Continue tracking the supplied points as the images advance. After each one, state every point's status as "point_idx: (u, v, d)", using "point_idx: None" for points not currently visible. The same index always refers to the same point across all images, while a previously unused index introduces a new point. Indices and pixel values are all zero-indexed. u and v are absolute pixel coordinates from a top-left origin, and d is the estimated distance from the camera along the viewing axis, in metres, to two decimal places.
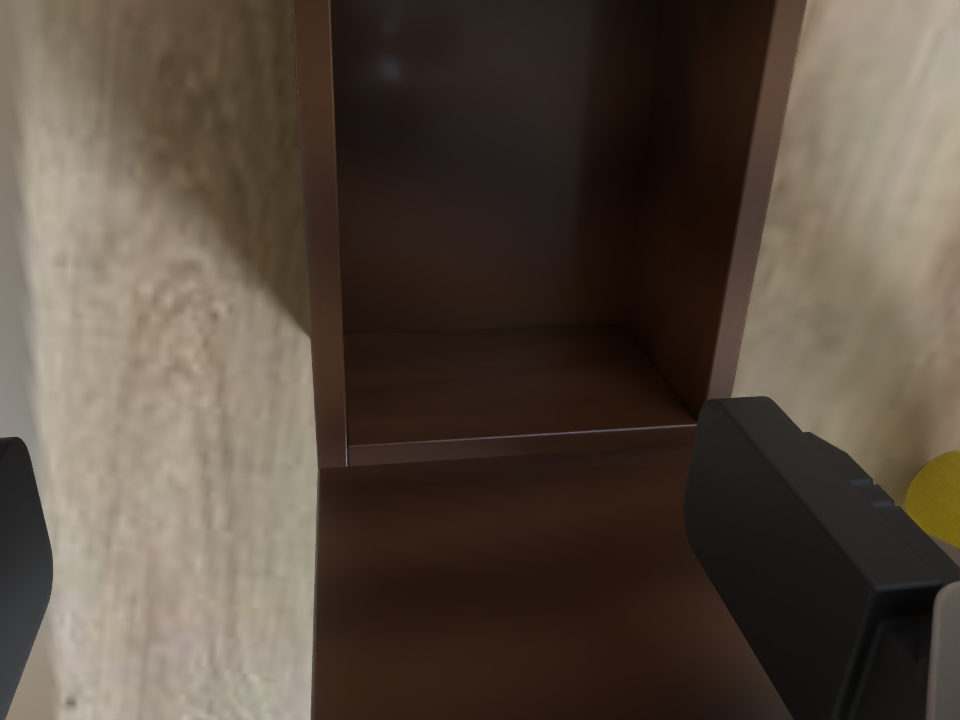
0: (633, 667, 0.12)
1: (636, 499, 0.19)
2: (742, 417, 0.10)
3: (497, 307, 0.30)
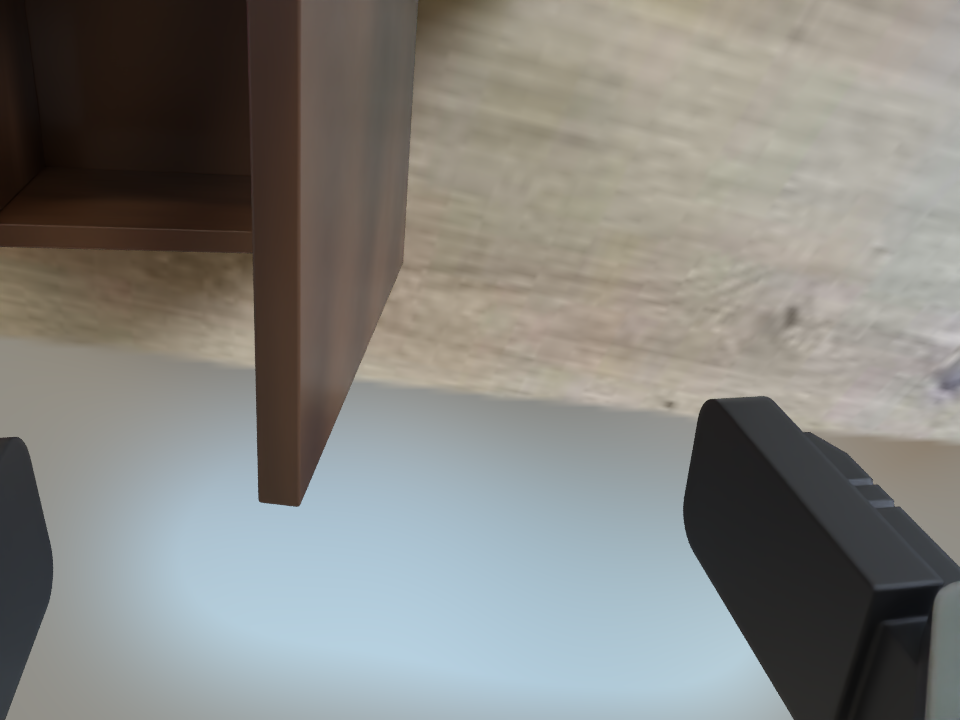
0: None
1: None
2: (743, 418, 0.10)
3: None
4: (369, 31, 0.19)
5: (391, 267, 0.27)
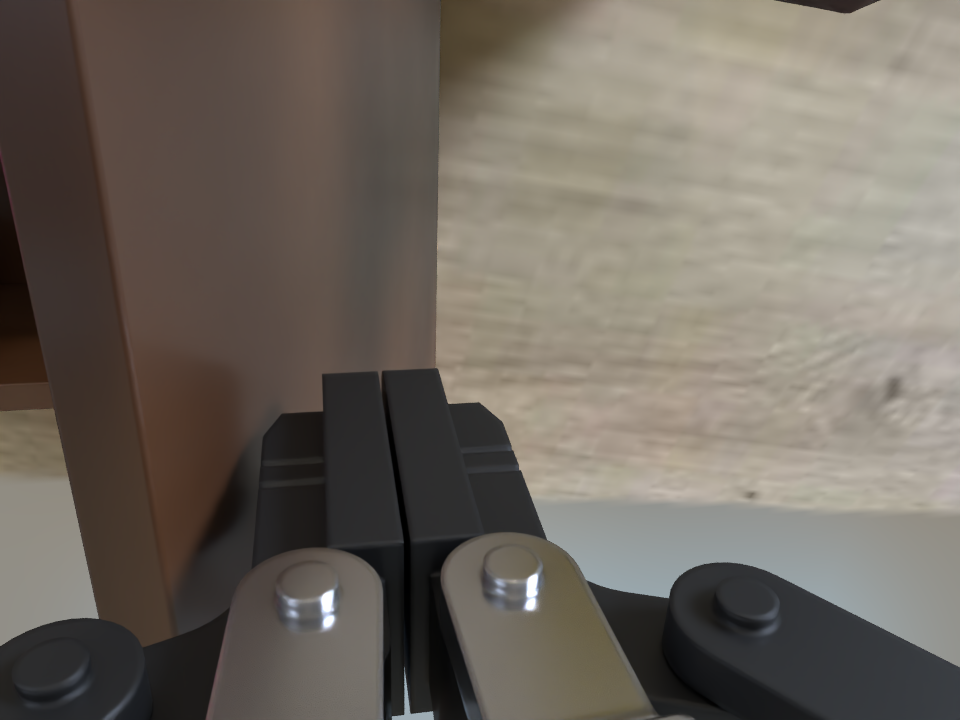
0: None
1: None
2: (397, 387, 0.10)
3: None
4: (336, 176, 0.13)
5: None
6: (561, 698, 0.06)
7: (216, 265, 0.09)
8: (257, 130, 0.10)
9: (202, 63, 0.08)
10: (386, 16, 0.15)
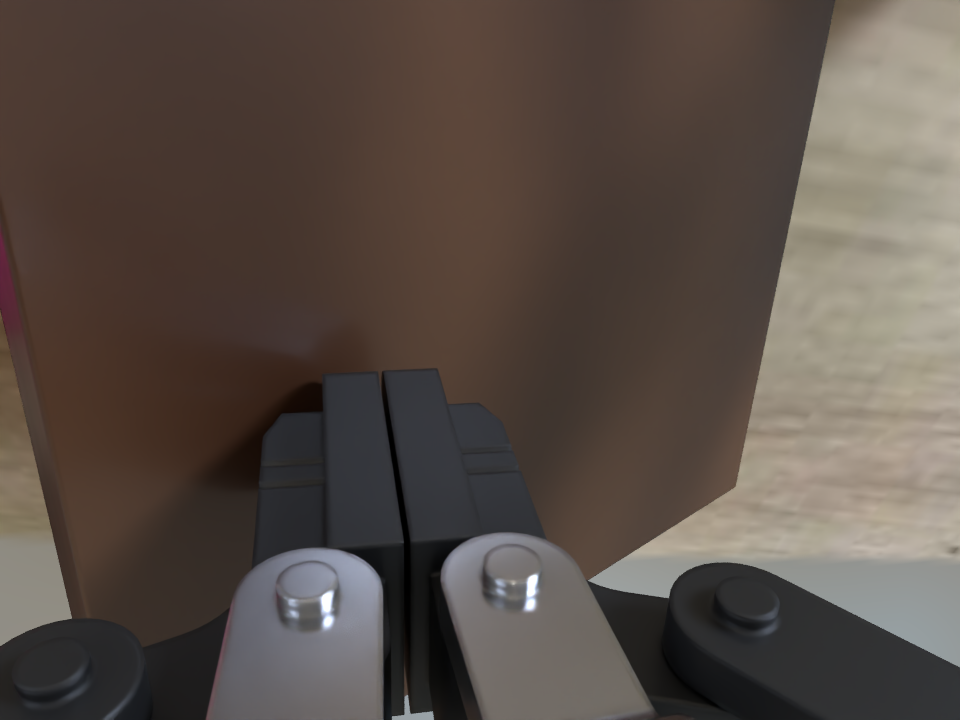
0: None
1: None
2: (397, 386, 0.10)
3: None
4: (491, 202, 0.12)
5: (665, 501, 0.19)
6: (562, 698, 0.06)
7: (198, 251, 0.09)
8: (305, 133, 0.10)
9: (191, 58, 0.09)
10: (658, 42, 0.13)
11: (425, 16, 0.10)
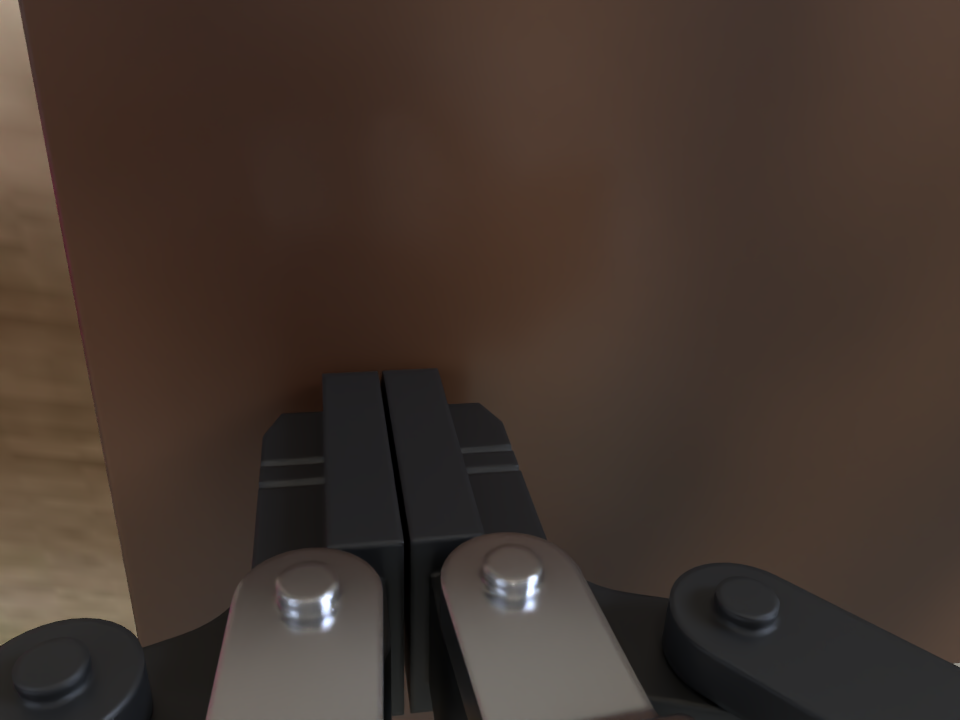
0: None
1: None
2: (397, 387, 0.10)
3: None
4: (581, 240, 0.11)
5: None
6: (562, 696, 0.06)
7: (230, 234, 0.10)
8: (349, 139, 0.10)
9: (228, 55, 0.09)
10: (856, 84, 0.11)
11: (500, 32, 0.10)
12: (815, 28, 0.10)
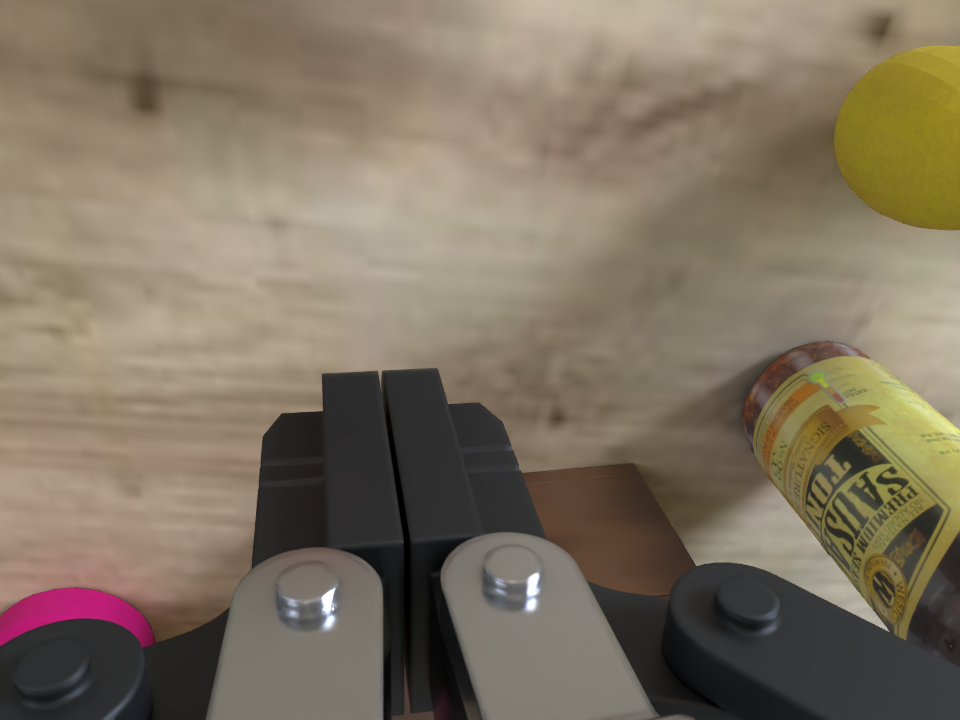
0: None
1: None
2: (397, 386, 0.10)
3: None
4: None
5: None
6: (562, 698, 0.06)
7: None
8: None
9: None
10: None
11: None
12: None
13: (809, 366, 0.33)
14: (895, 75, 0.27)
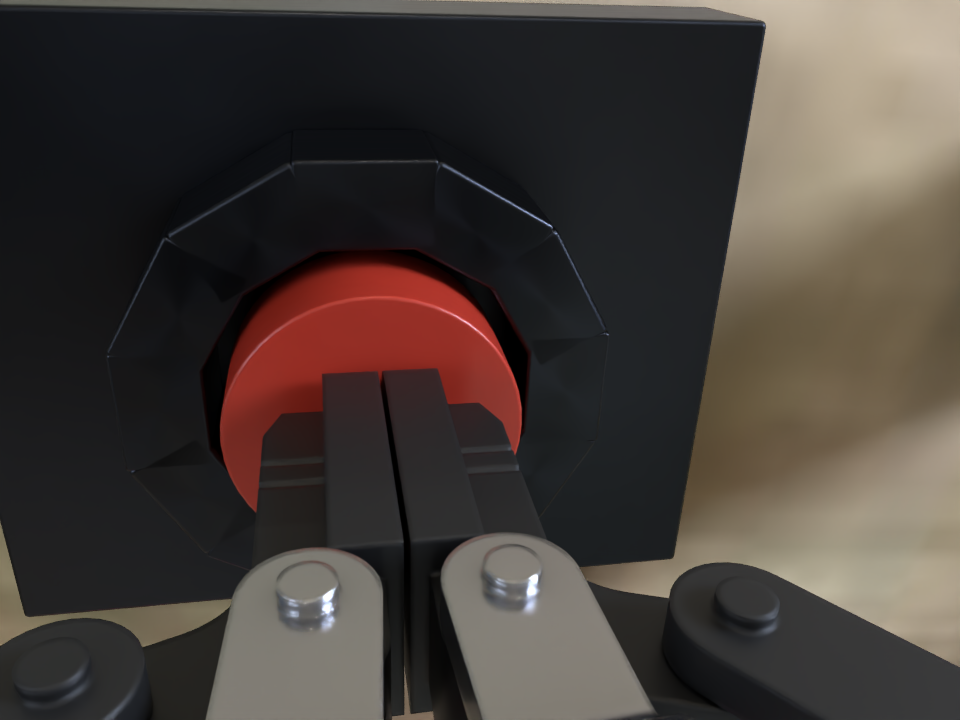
0: None
1: None
2: (397, 386, 0.10)
3: None
4: None
5: None
6: (561, 698, 0.06)
7: None
8: None
9: None
10: None
11: None
12: None
13: None
14: None
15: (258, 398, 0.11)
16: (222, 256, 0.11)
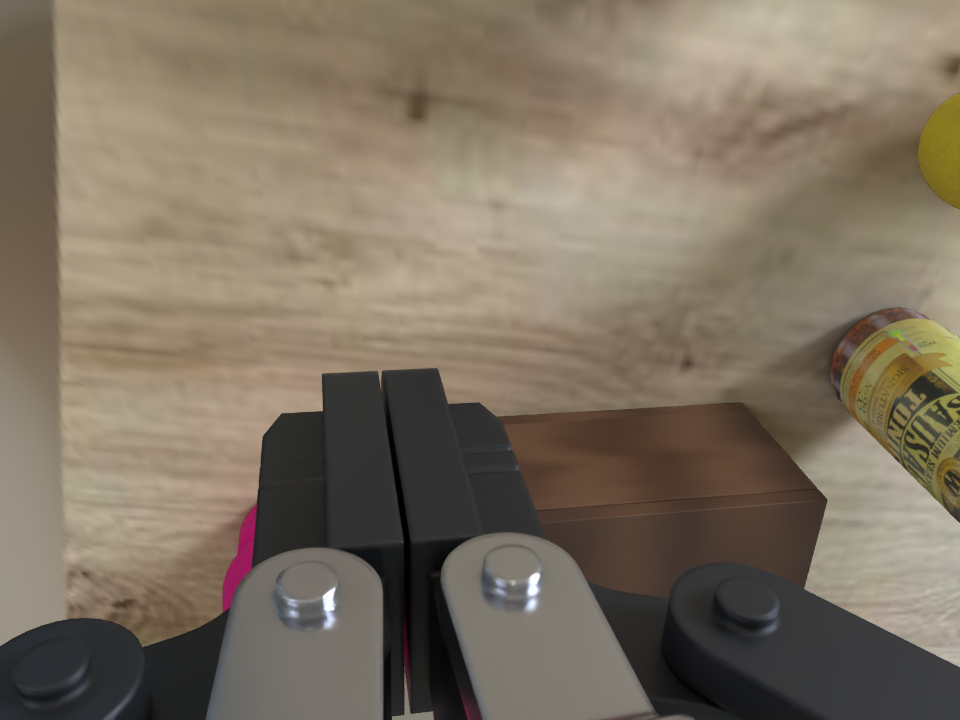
0: None
1: None
2: (397, 386, 0.10)
3: None
4: (639, 572, 0.38)
5: None
6: (562, 698, 0.06)
7: None
8: (579, 555, 0.37)
9: (553, 541, 0.37)
10: (715, 532, 0.38)
11: (619, 530, 0.37)
12: (703, 521, 0.38)
13: (888, 325, 0.43)
14: None
15: None
16: None
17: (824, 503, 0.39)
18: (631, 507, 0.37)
